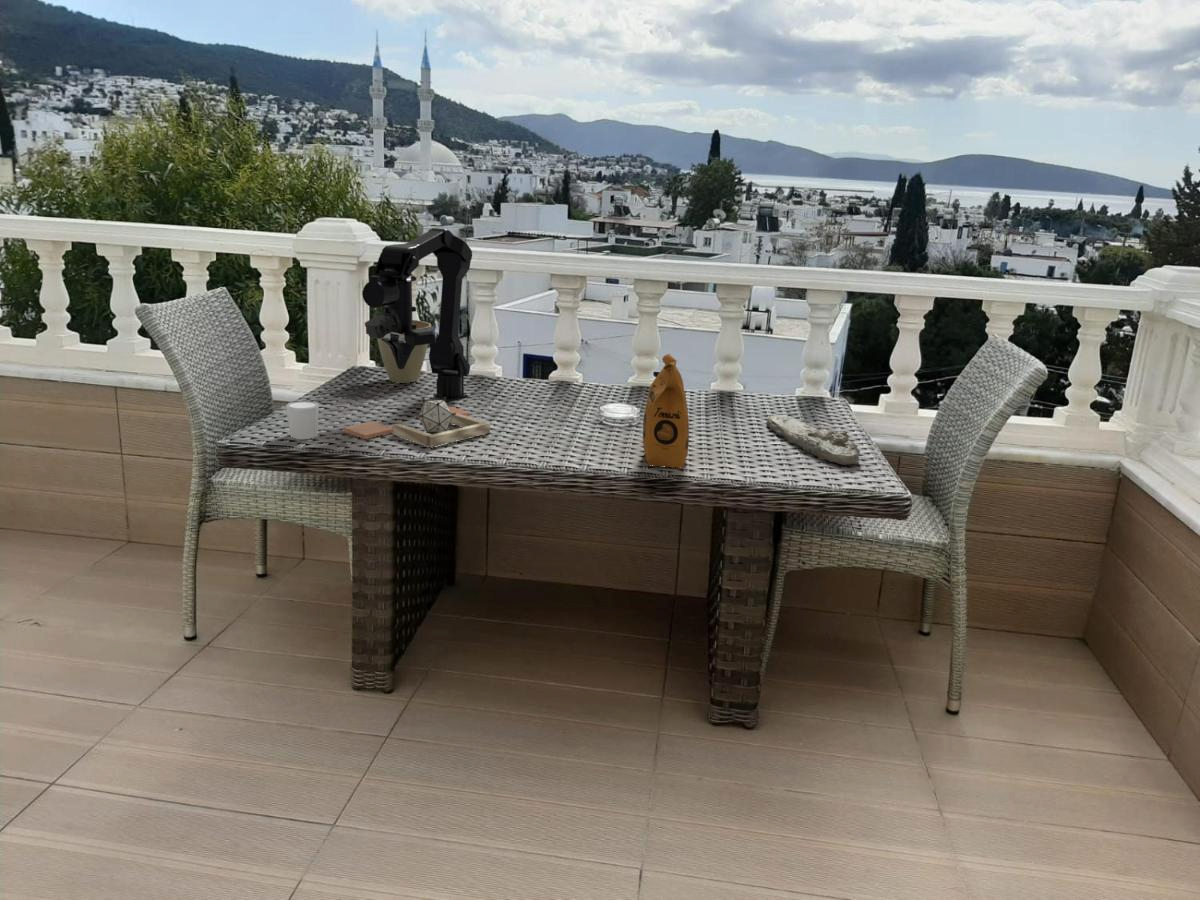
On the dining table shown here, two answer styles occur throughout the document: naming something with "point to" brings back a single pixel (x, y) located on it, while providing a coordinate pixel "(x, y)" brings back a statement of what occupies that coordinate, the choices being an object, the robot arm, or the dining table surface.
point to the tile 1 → (368, 430)
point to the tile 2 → (459, 411)
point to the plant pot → (413, 363)
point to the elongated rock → (816, 439)
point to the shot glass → (303, 419)
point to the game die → (435, 415)
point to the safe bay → (468, 430)
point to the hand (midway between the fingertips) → (400, 368)
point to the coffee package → (666, 419)
